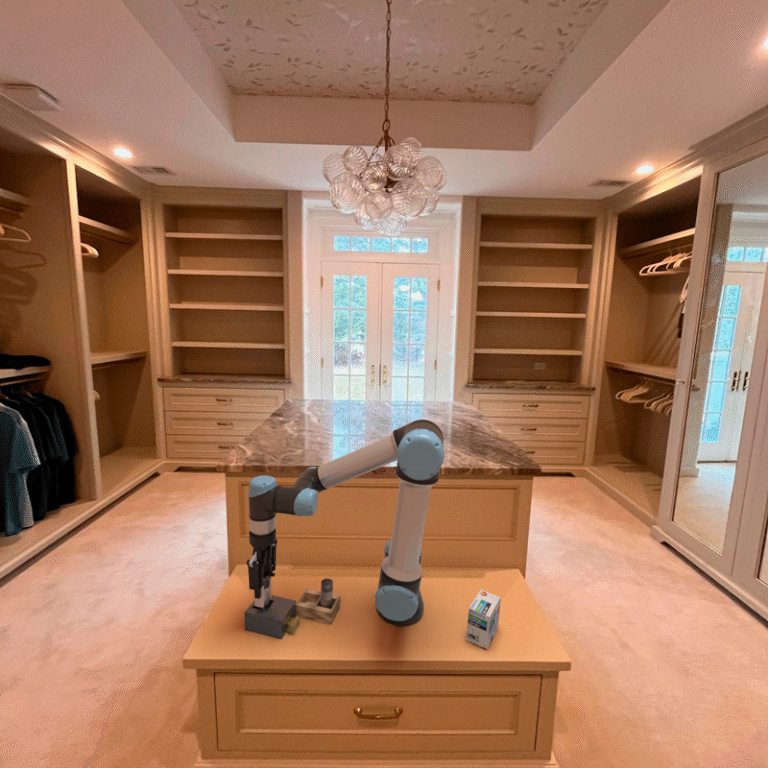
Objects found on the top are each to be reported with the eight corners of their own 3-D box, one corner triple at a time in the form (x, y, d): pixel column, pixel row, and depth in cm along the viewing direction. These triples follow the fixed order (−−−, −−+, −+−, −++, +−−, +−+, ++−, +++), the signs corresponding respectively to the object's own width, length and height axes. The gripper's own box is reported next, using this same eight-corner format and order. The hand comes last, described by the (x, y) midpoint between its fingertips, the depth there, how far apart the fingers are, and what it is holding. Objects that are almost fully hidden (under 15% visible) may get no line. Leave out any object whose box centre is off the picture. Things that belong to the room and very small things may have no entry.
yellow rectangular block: (299, 624, 127) (299, 617, 126) (293, 634, 123) (293, 626, 123) (266, 616, 130) (266, 609, 129) (259, 625, 126) (259, 618, 125)
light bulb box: (487, 651, 120) (490, 617, 118) (465, 640, 124) (467, 608, 122) (498, 628, 129) (501, 596, 127) (477, 619, 133) (480, 588, 131)
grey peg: (271, 610, 128) (271, 574, 126) (265, 618, 125) (265, 581, 123) (261, 607, 129) (261, 571, 127) (254, 615, 126) (254, 578, 124)
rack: (340, 607, 135) (341, 576, 133) (331, 624, 128) (332, 592, 126) (306, 599, 138) (306, 569, 136) (295, 616, 130) (295, 584, 129)
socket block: (295, 617, 130) (295, 600, 129) (281, 639, 121) (281, 620, 120) (260, 609, 133) (260, 592, 132) (244, 630, 124) (244, 611, 123)
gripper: (265, 514, 131) (266, 581, 135) (234, 541, 115) (235, 617, 119) (287, 517, 129) (287, 586, 133) (258, 546, 113) (259, 623, 117)
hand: (263, 601), depth 126 cm, fingers closed on grey peg, 4 cm apart
